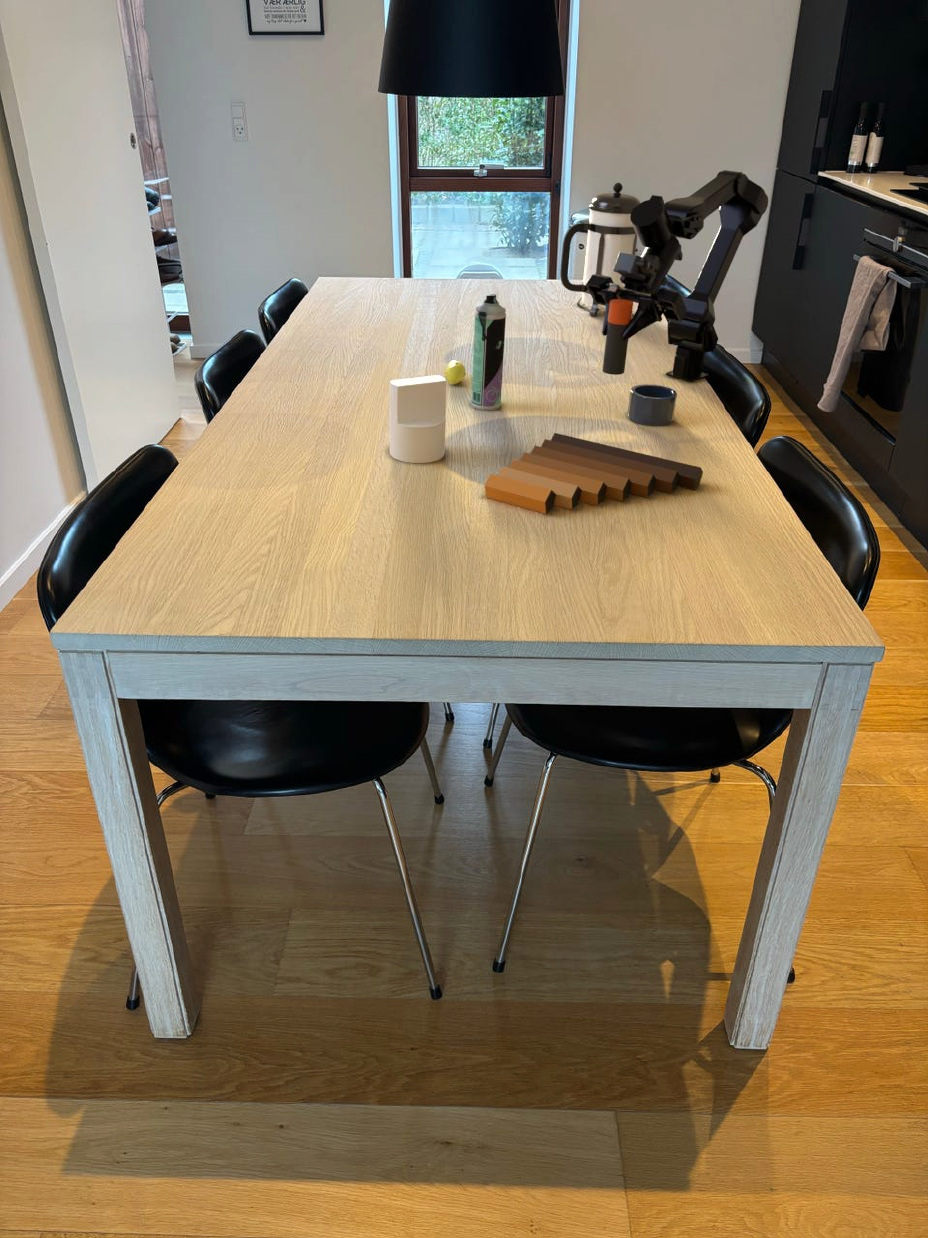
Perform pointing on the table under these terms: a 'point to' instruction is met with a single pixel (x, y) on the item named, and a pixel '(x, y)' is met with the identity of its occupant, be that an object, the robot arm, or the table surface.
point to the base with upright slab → (418, 419)
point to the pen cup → (652, 405)
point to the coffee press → (602, 241)
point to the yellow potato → (455, 372)
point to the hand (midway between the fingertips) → (613, 336)
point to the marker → (617, 336)
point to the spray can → (488, 354)
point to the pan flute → (585, 475)
